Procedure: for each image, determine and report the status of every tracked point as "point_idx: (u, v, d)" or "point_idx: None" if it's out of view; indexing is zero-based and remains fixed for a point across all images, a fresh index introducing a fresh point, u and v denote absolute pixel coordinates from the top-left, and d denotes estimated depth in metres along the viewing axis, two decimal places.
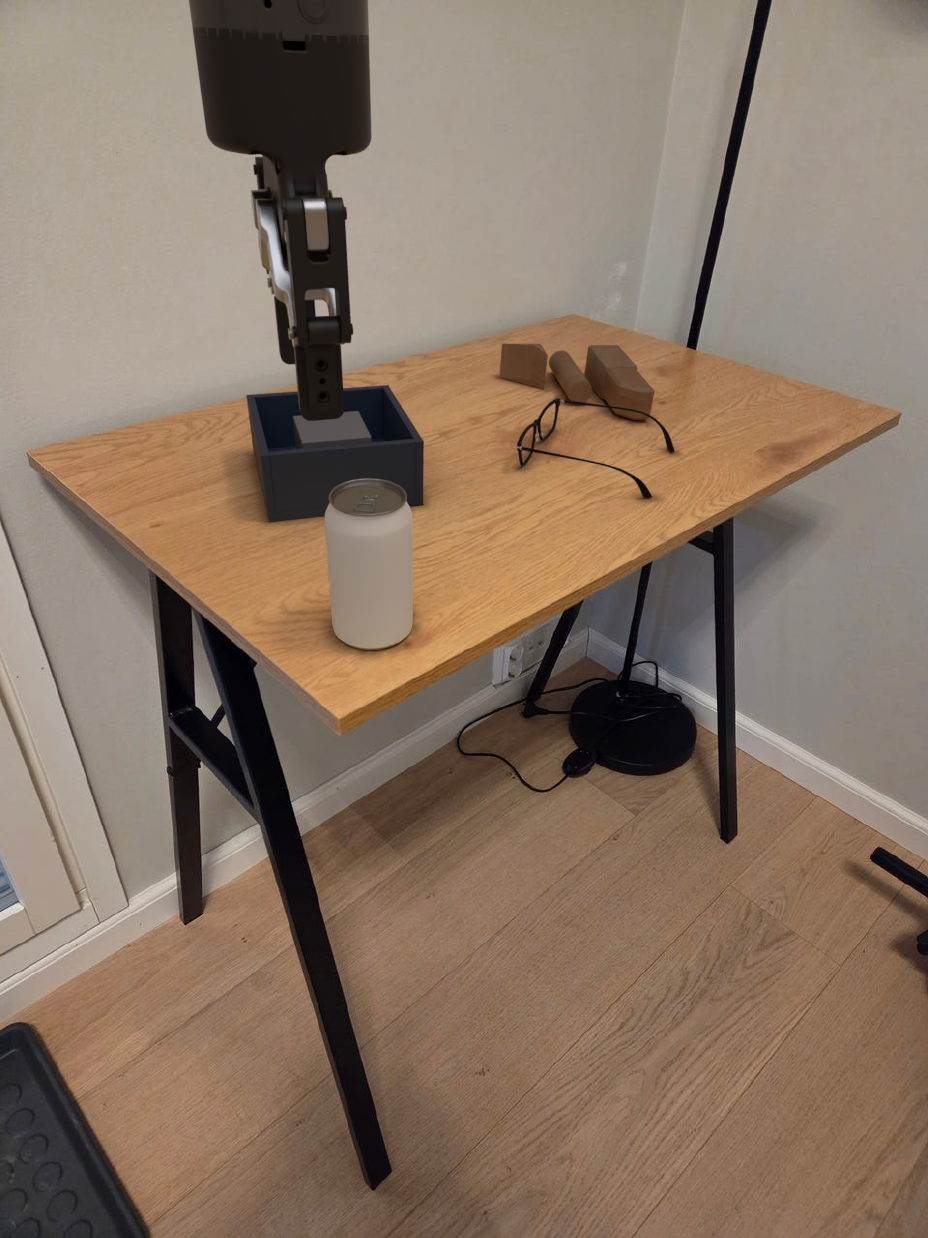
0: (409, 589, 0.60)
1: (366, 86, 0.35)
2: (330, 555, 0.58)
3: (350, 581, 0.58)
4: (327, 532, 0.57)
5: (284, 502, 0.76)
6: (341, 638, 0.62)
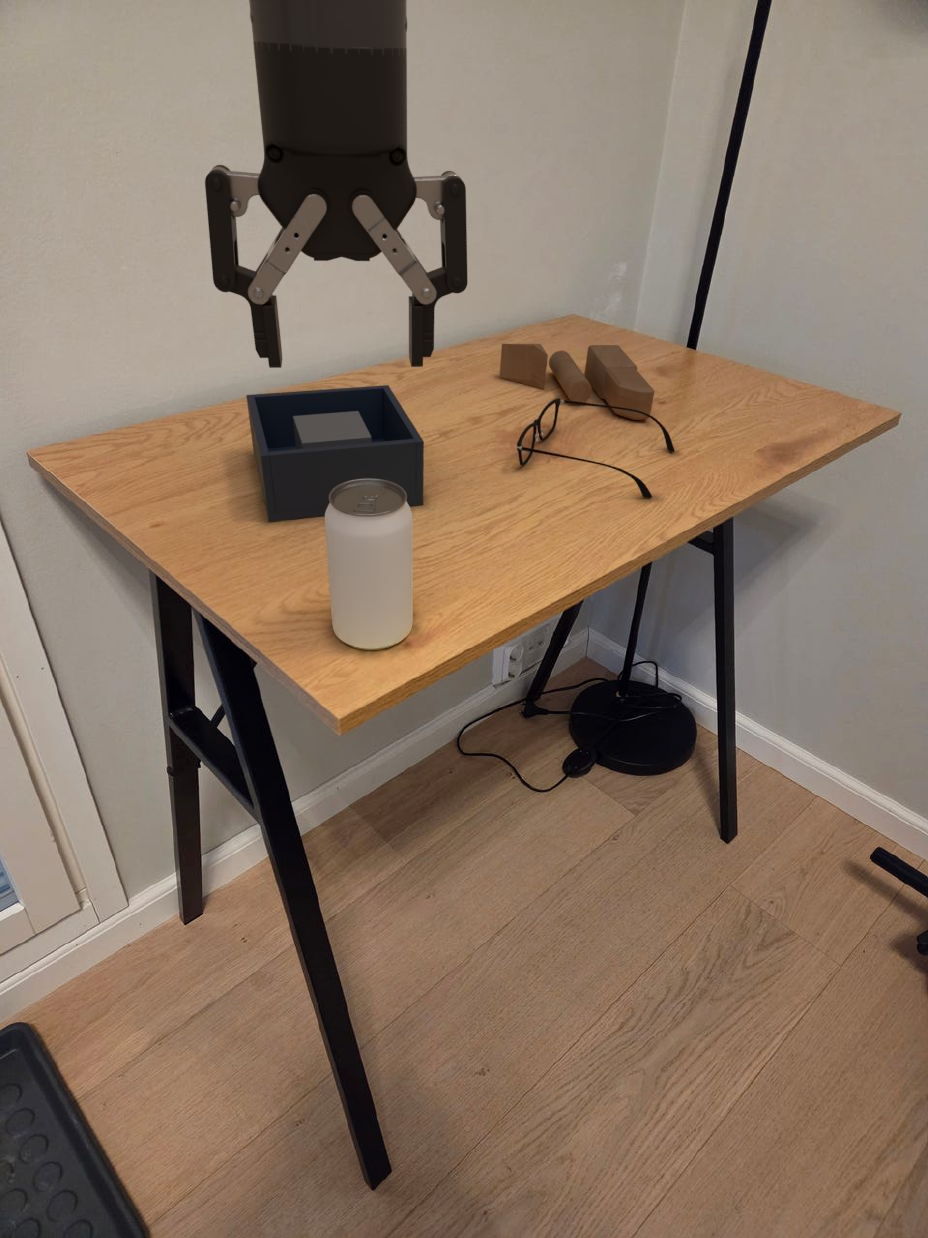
0: (409, 589, 0.60)
1: None
2: (330, 555, 0.58)
3: (350, 581, 0.58)
4: (327, 532, 0.57)
5: (284, 502, 0.76)
6: (341, 638, 0.62)
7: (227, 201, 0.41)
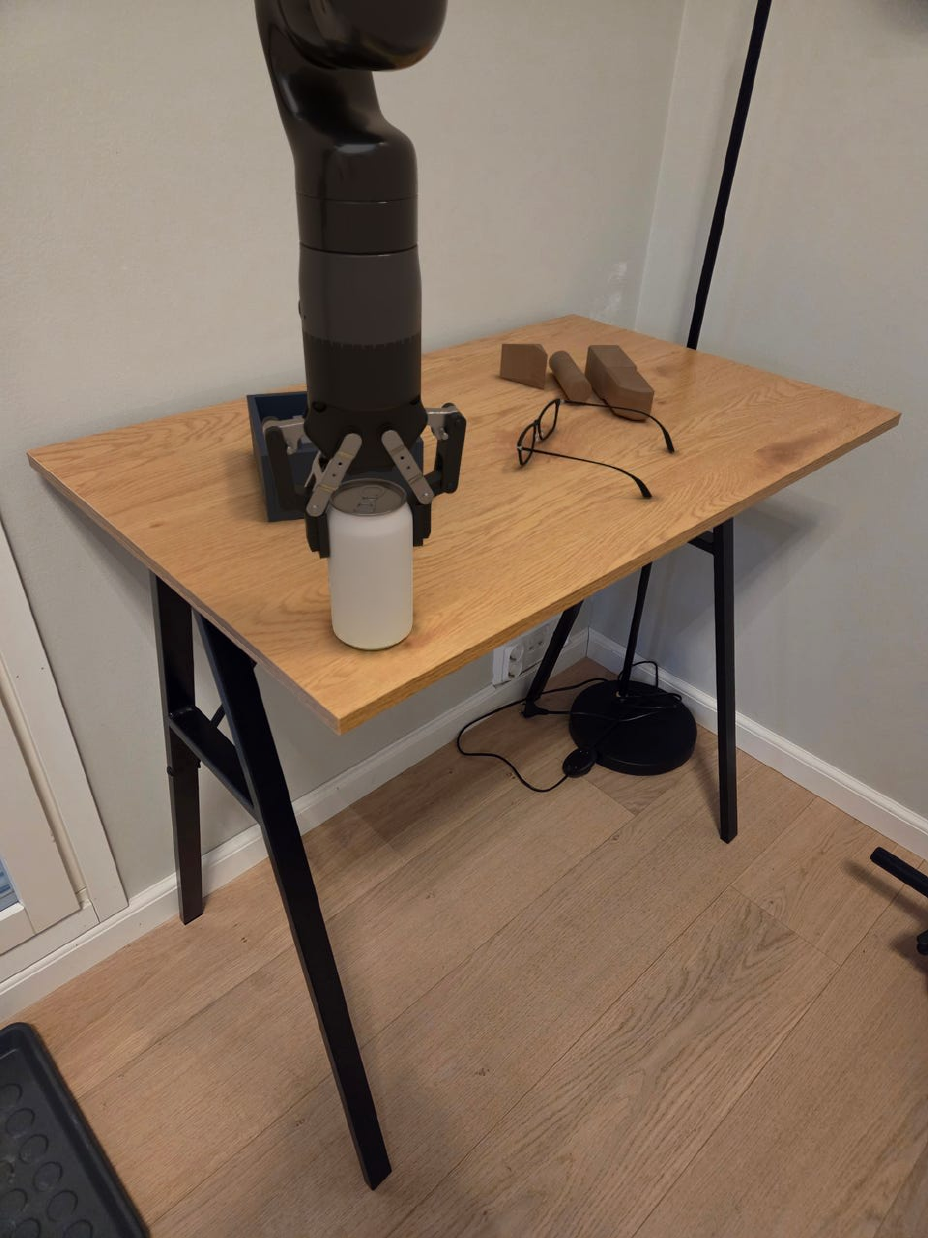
0: (409, 589, 0.60)
1: None
2: (330, 555, 0.58)
3: (350, 581, 0.58)
4: None
5: None
6: (341, 638, 0.62)
7: (284, 448, 0.52)
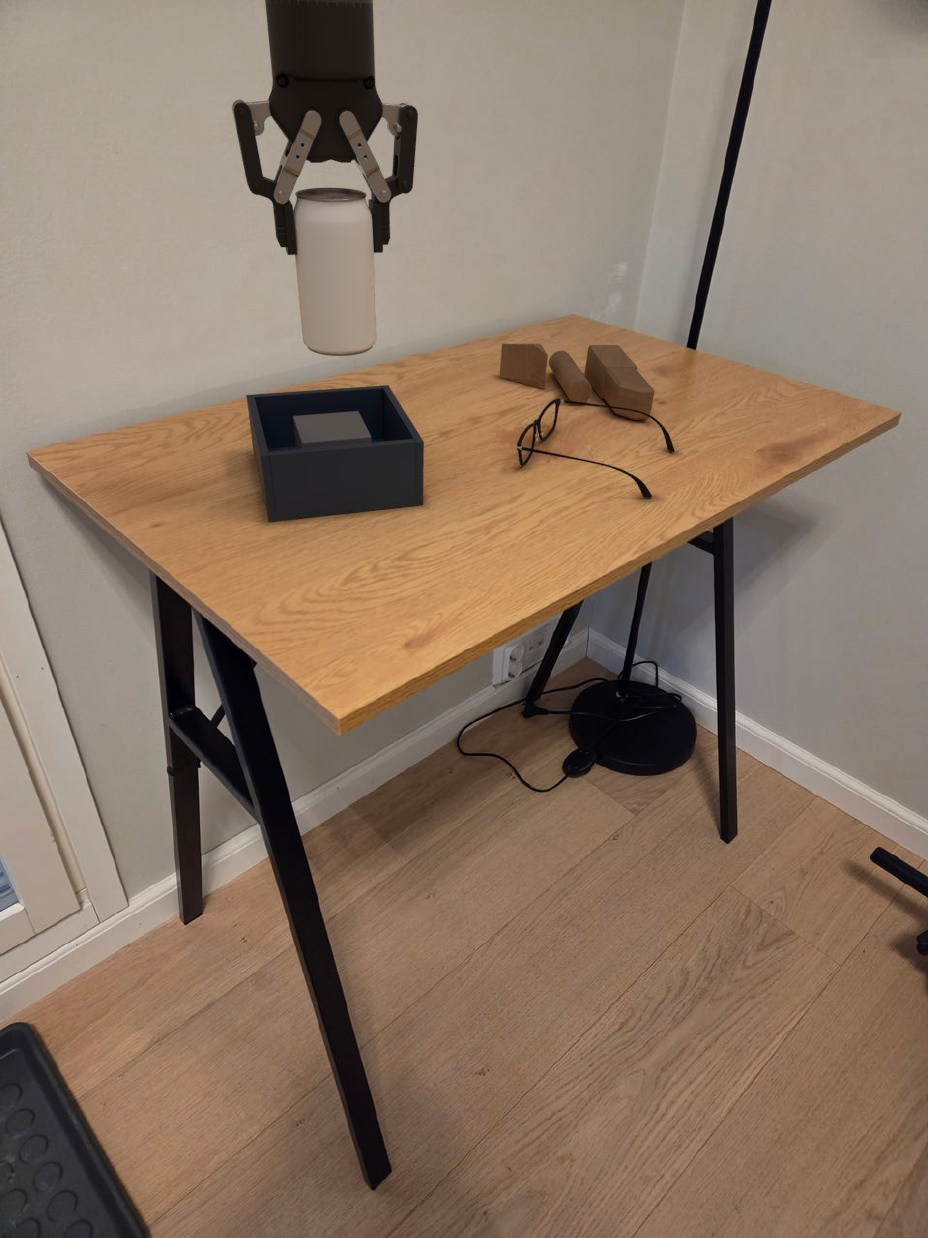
0: (371, 294, 0.66)
1: None
2: (297, 252, 0.64)
3: (315, 275, 0.64)
4: None
5: (284, 502, 0.76)
6: (310, 345, 0.68)
7: (251, 124, 0.58)
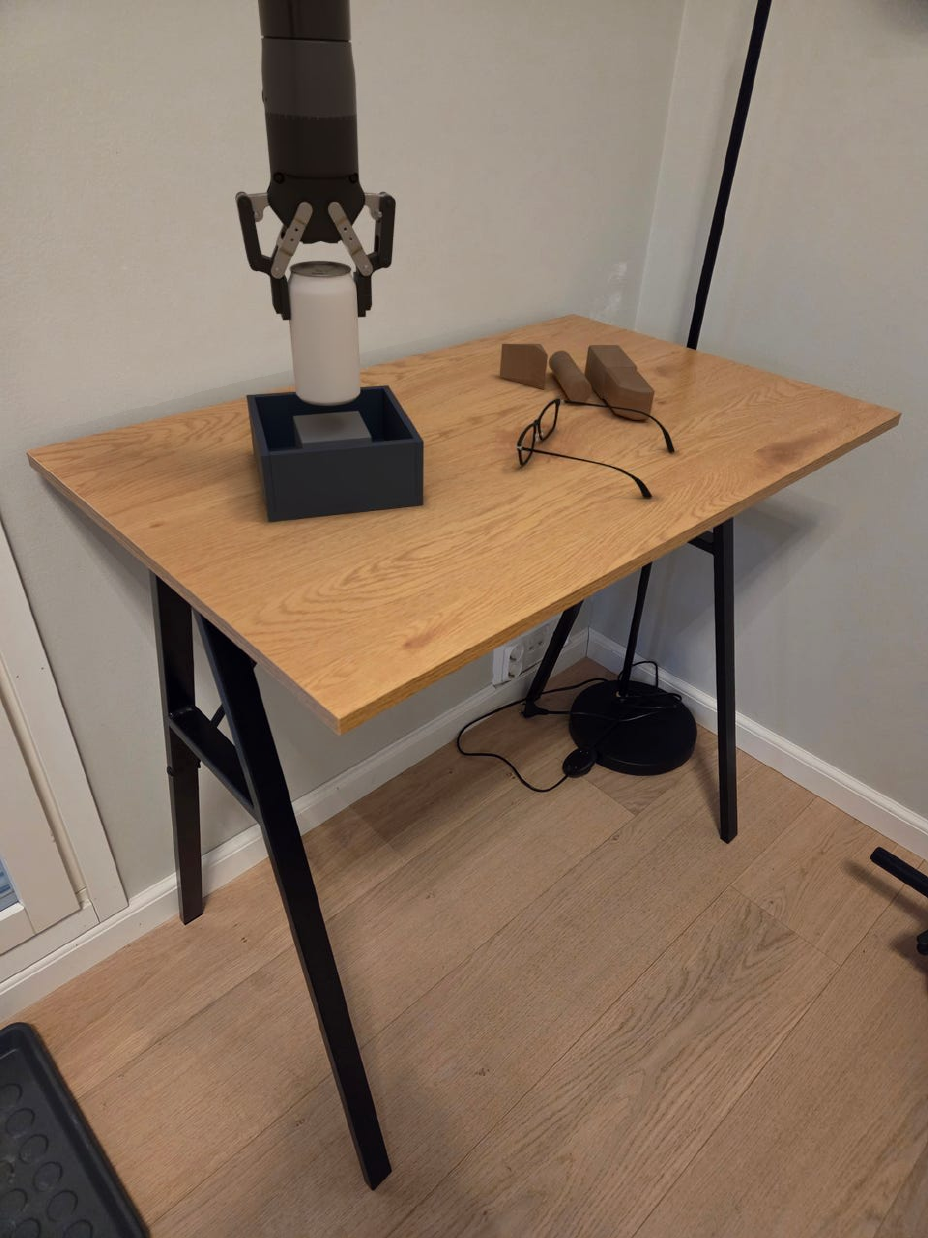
0: (355, 352, 0.76)
1: None
2: (291, 317, 0.73)
3: (307, 338, 0.73)
4: None
5: (284, 502, 0.76)
6: (301, 396, 0.77)
7: (252, 213, 0.67)
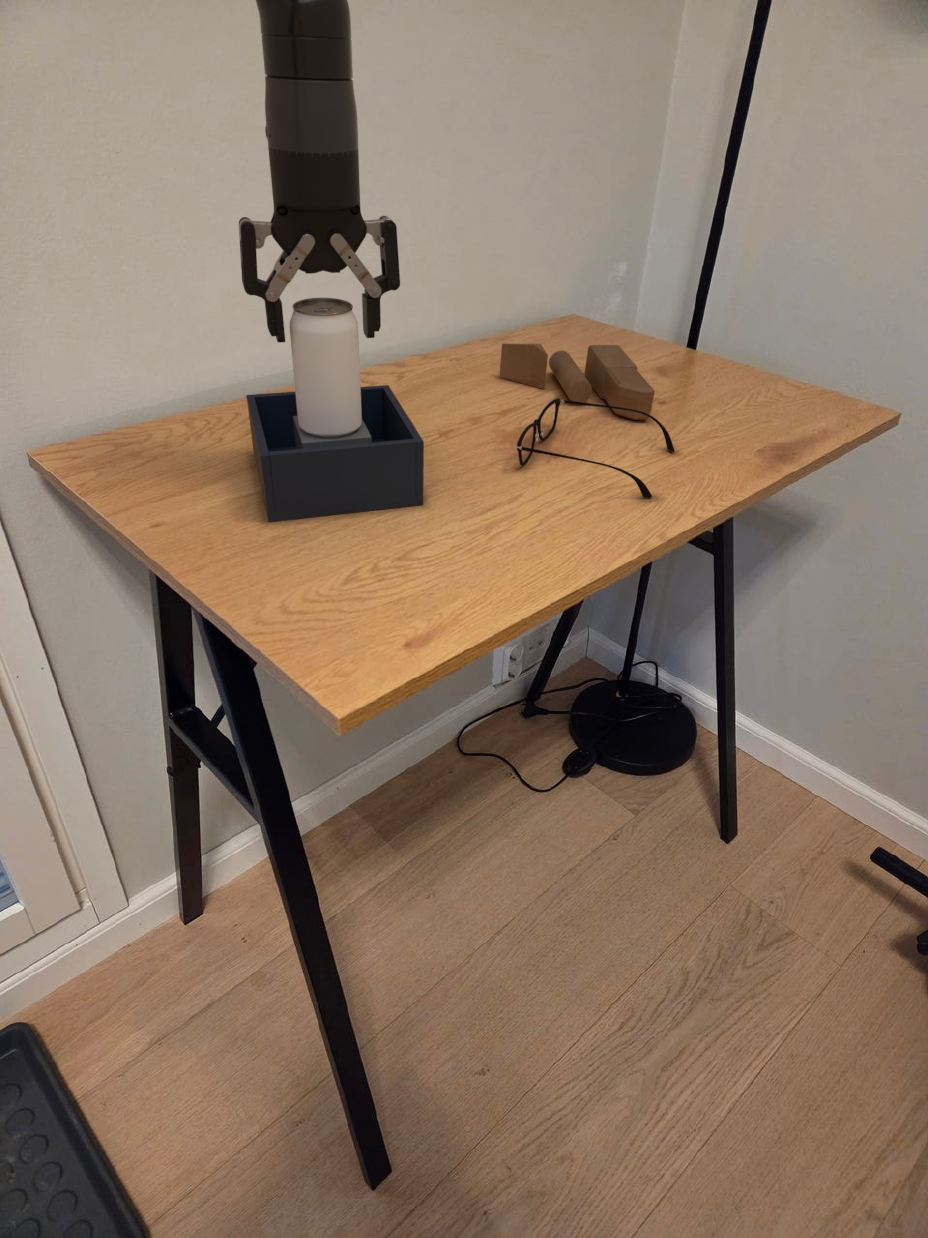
0: (356, 386, 0.78)
1: None
2: (294, 353, 0.75)
3: (309, 373, 0.75)
4: (291, 334, 0.74)
5: (284, 502, 0.76)
6: (304, 428, 0.79)
7: (254, 239, 0.68)
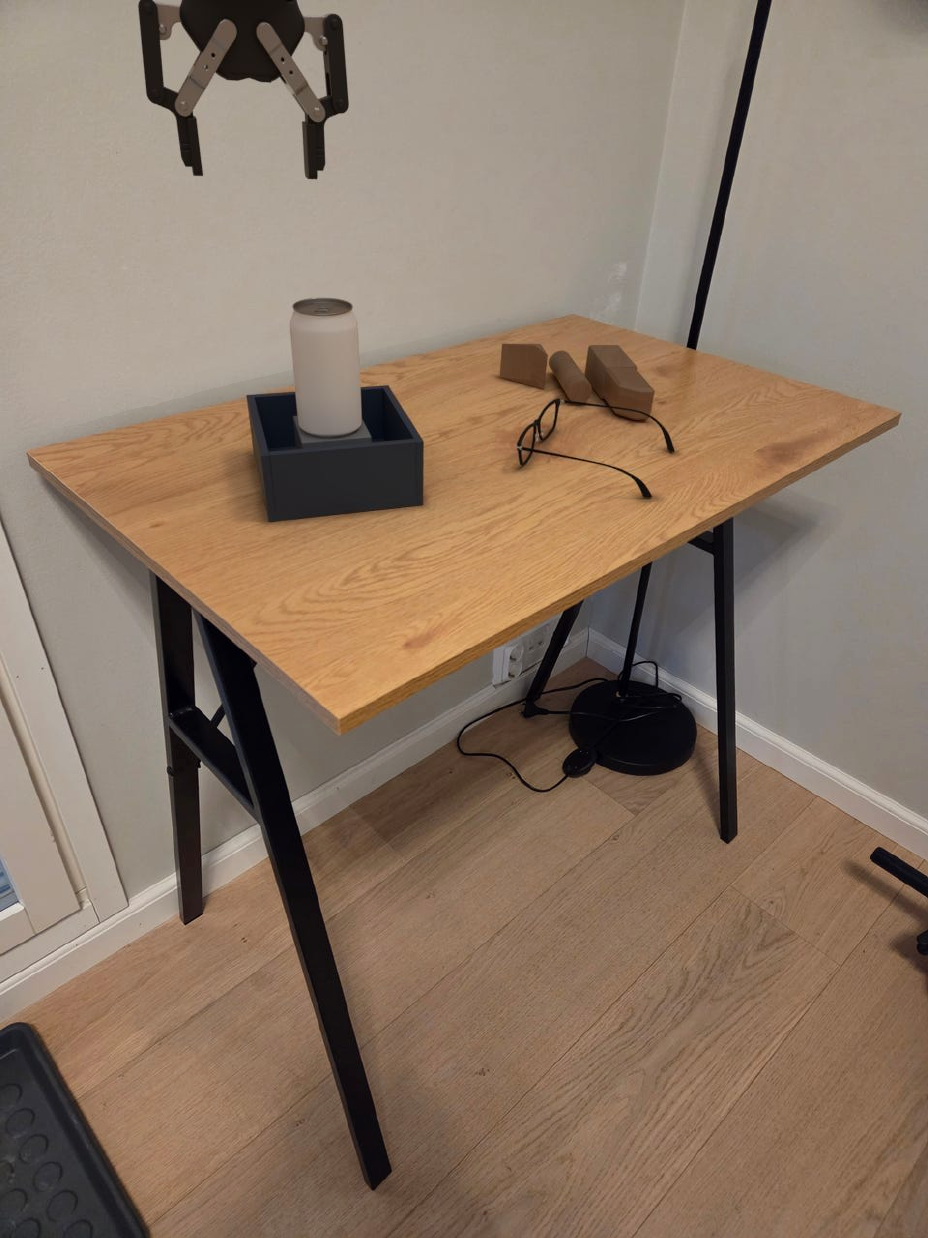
0: (356, 386, 0.78)
1: None
2: (294, 353, 0.75)
3: (309, 373, 0.75)
4: (291, 334, 0.74)
5: (284, 502, 0.76)
6: (304, 428, 0.79)
7: (156, 24, 0.53)
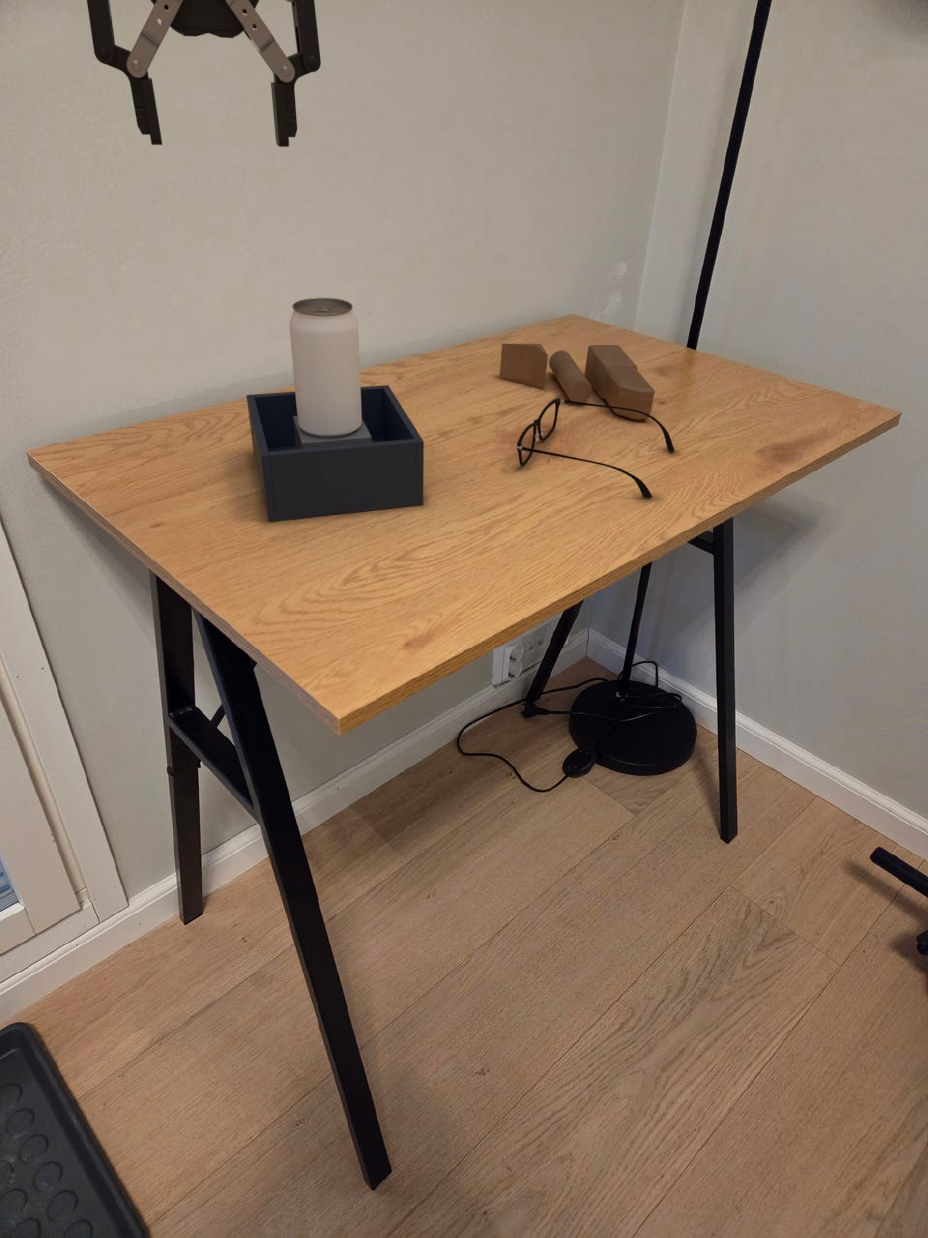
0: (356, 386, 0.78)
1: None
2: (294, 353, 0.75)
3: (309, 373, 0.75)
4: (291, 334, 0.74)
5: (284, 502, 0.76)
6: (304, 428, 0.79)
7: None
